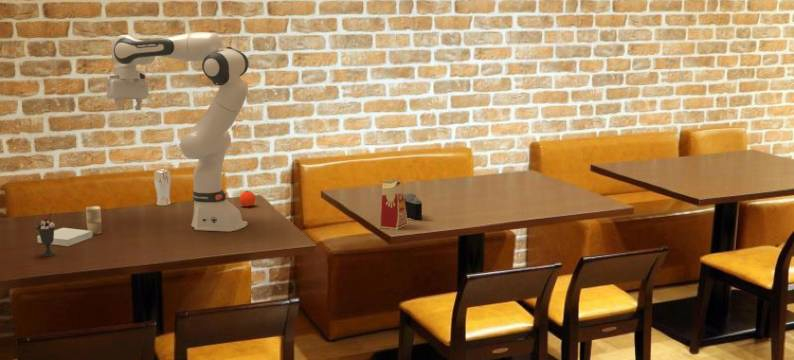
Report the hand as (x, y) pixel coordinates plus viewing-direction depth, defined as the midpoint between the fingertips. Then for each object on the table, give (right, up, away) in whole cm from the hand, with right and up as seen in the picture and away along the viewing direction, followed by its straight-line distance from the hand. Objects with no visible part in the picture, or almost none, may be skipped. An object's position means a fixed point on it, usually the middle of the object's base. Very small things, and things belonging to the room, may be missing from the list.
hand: (129, 110), depth 383 cm
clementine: (+42, -40, +32) cm, 67 cm away
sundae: (-18, -55, -42) cm, 71 cm away
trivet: (-18, -51, -23) cm, 59 cm away
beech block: (-10, -49, -12) cm, 51 cm away
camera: (+114, -44, +13) cm, 123 cm away
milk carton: (+106, -47, -3) cm, 116 cm away
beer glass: (+4, -39, +37) cm, 54 cm away
